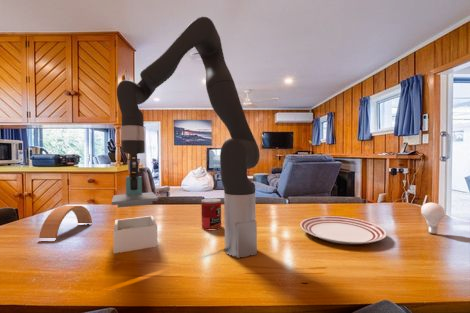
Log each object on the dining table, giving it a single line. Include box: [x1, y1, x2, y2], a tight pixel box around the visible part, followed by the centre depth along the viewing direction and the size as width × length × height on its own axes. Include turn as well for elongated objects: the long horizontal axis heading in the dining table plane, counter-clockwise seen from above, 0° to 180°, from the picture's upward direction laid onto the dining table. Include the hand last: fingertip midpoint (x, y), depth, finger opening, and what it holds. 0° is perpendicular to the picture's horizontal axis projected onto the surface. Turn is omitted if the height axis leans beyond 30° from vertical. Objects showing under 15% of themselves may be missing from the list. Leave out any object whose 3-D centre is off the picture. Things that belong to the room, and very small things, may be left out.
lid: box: [111, 175, 159, 209], centre depth 75 cm, size 15×13×8 cm
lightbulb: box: [420, 202, 446, 235], centre depth 82 cm, size 6×6×11 cm
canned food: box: [200, 197, 222, 230], centre depth 93 cm, size 8×8×11 cm
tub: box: [112, 215, 158, 254], centre depth 76 cm, size 14×12×7 cm
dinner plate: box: [299, 215, 388, 245], centre depth 83 cm, size 27×27×3 cm
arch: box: [38, 205, 93, 239], centre depth 89 cm, size 6×20×10 cm, turn 178°
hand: (133, 189), depth 81 cm, fingers closed on lid, 1 cm apart
